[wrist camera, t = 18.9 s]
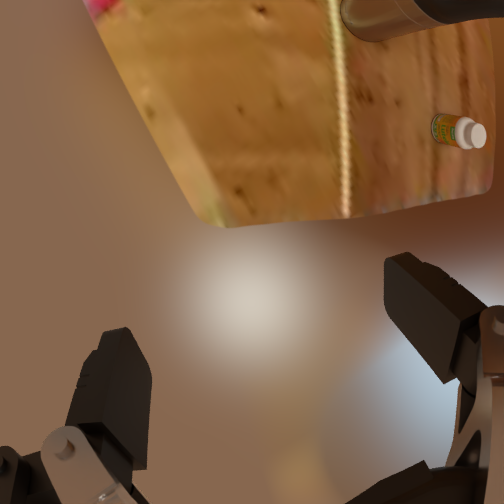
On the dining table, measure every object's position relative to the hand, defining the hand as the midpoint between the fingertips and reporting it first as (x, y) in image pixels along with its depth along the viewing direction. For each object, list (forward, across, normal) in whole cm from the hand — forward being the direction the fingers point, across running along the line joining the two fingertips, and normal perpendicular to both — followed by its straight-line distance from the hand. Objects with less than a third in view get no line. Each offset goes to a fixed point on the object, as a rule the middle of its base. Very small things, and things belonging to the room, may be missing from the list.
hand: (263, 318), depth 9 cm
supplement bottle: (+38, -40, +2) cm, 55 cm away
